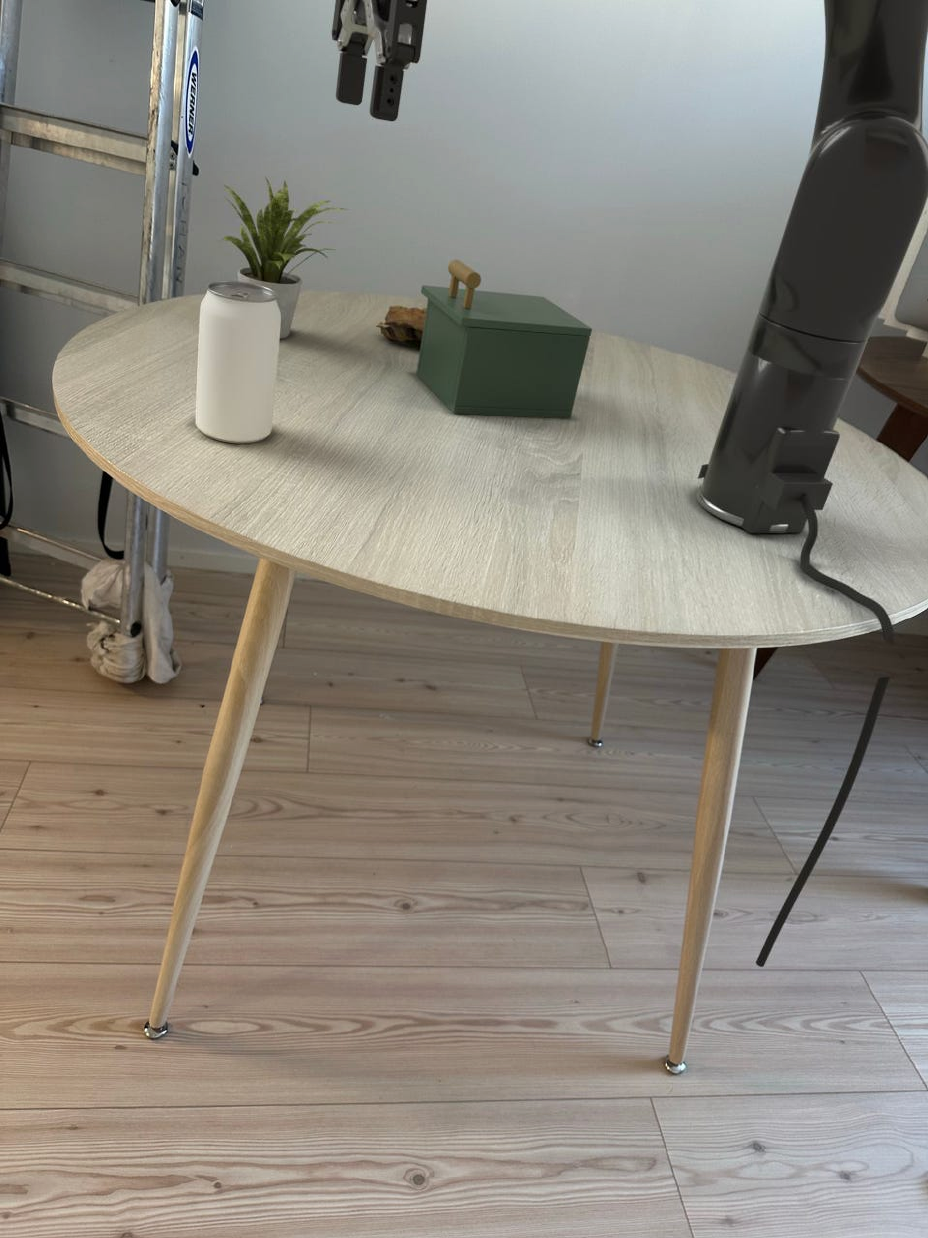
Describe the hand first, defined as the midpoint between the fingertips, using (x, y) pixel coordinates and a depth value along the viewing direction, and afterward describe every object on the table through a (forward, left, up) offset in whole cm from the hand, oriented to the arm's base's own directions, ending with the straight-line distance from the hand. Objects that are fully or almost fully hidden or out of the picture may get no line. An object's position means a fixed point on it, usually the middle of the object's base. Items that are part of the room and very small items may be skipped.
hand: (365, 111), depth 83 cm
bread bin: (+4, -19, -26) cm, 32 cm away
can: (-8, +11, -26) cm, 29 cm away
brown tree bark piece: (+22, -19, -26) cm, 39 cm away
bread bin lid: (+4, -19, -17) cm, 26 cm away
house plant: (+21, +1, -26) cm, 34 cm away
